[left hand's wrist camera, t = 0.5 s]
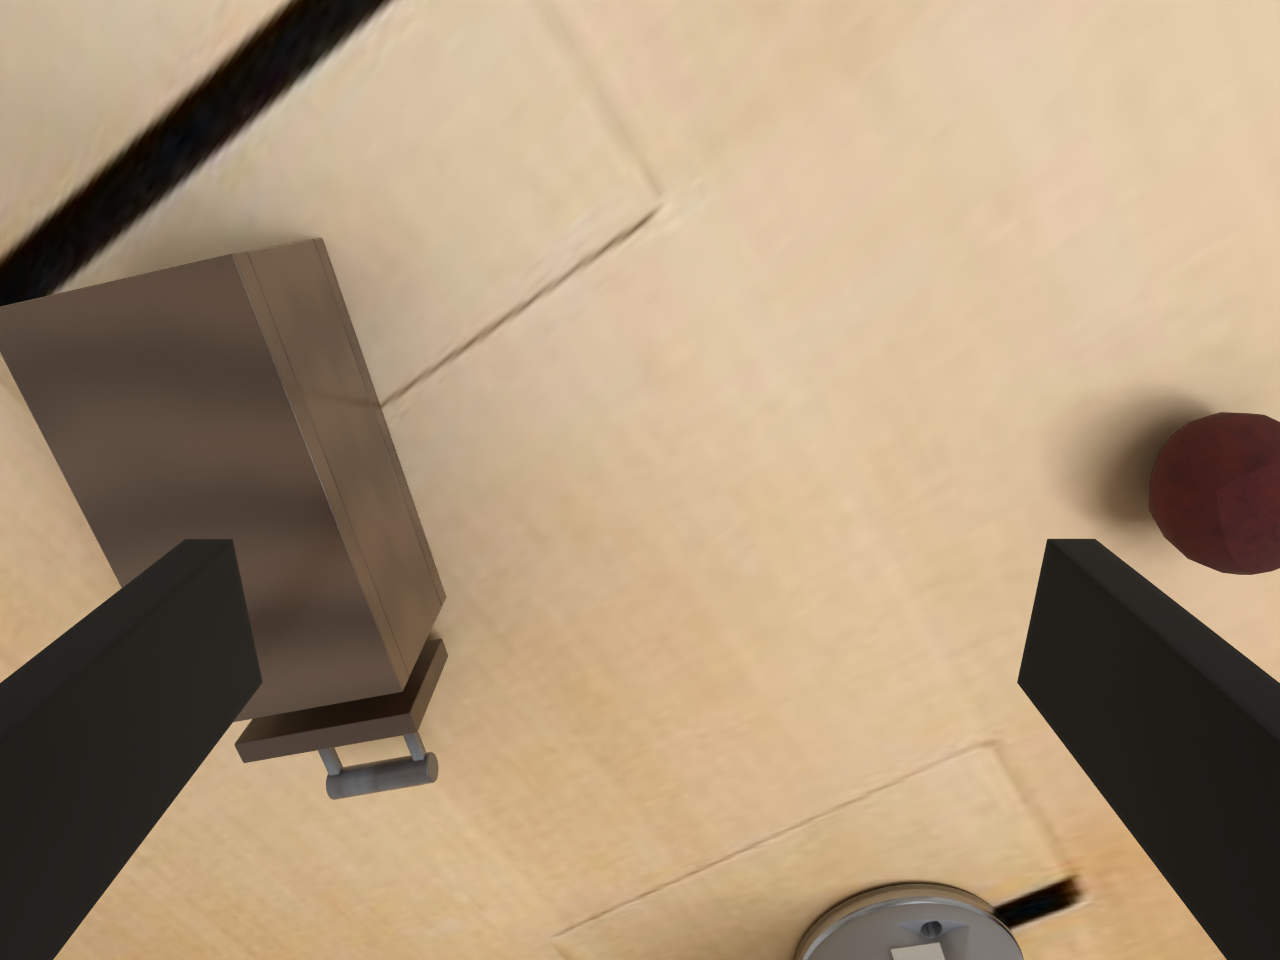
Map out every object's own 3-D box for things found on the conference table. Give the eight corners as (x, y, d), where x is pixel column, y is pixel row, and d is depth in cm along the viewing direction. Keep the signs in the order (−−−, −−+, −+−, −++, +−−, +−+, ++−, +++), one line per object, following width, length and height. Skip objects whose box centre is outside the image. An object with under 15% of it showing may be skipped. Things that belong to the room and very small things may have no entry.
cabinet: (446, 597, 43) (402, 692, 35) (275, 629, 44) (194, 729, 36) (322, 237, 36) (232, 253, 28) (121, 283, 37) (-22, 311, 29)
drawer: (476, 735, 45) (451, 820, 39) (331, 760, 46) (285, 848, 40) (335, 337, 37) (275, 368, 31) (160, 375, 37) (68, 413, 31)
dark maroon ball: (1144, 555, 42) (1237, 625, 35) (1095, 440, 40) (1186, 491, 33) (1280, 490, 41) (1404, 550, 34) (1239, 366, 38) (1363, 405, 32)
